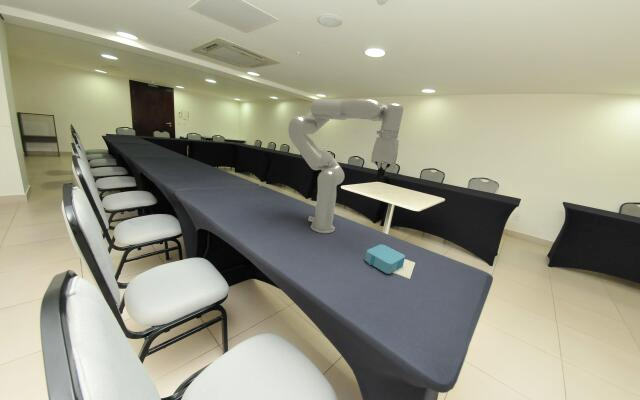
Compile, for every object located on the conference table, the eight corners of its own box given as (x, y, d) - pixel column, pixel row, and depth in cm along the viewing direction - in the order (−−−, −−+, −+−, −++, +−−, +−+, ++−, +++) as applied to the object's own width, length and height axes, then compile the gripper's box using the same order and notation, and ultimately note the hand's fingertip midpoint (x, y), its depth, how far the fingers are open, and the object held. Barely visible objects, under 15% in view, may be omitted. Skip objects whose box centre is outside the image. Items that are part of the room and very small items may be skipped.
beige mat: (368, 264, 96) (369, 263, 96) (378, 250, 108) (378, 249, 108) (409, 279, 89) (409, 278, 89) (415, 263, 101) (415, 262, 101)
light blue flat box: (363, 260, 97) (388, 275, 89) (365, 250, 96) (390, 264, 88) (379, 252, 105) (404, 265, 97) (381, 243, 104) (406, 255, 96)
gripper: (368, 132, 100) (361, 175, 106) (405, 137, 94) (395, 182, 99) (374, 133, 107) (366, 173, 112) (408, 137, 100) (398, 179, 105)
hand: (380, 177), depth 106 cm, fingers closed
